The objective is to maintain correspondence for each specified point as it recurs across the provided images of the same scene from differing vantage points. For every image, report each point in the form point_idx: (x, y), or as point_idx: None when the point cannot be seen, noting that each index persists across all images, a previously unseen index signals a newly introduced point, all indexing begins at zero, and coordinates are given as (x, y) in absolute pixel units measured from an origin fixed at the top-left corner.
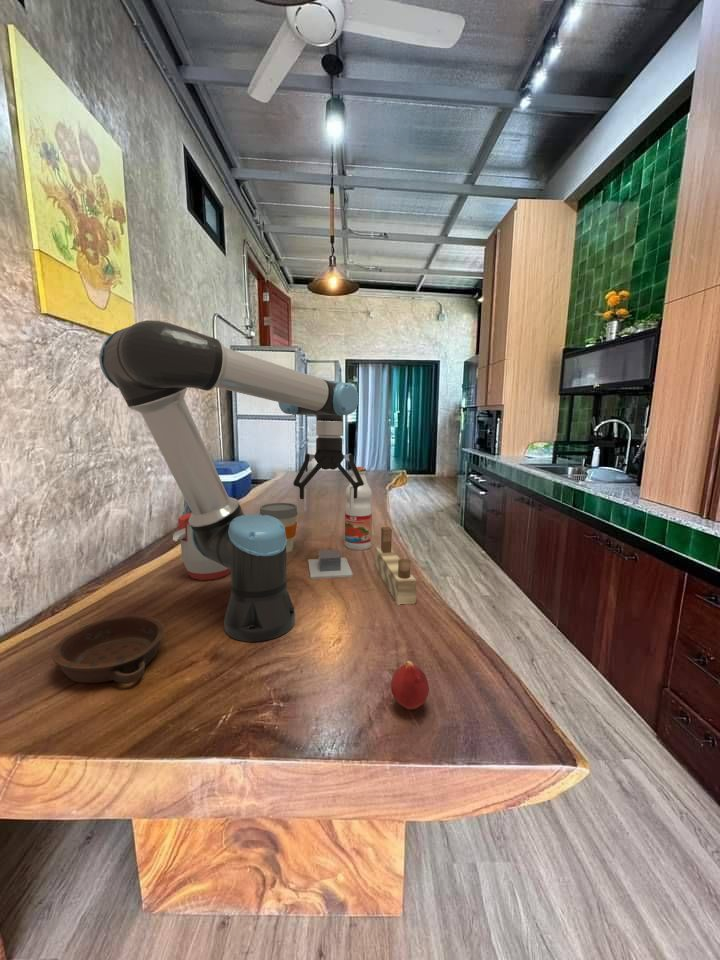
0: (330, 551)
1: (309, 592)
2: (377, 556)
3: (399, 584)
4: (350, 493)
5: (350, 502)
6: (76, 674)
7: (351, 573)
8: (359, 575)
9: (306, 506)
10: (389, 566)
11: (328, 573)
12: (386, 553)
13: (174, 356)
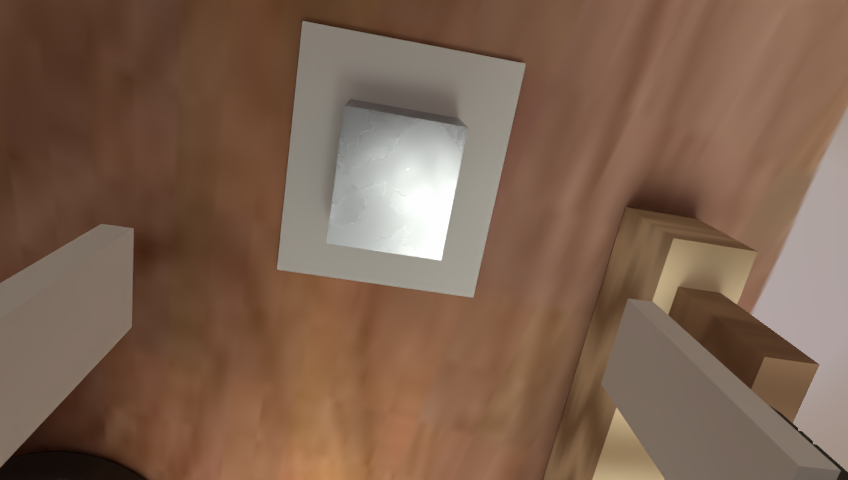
0: (413, 148)
1: (254, 385)
2: (640, 275)
3: None
4: (709, 459)
5: (644, 398)
6: None
7: (471, 284)
8: (505, 289)
9: (106, 353)
10: None
11: (368, 254)
12: None
13: None
